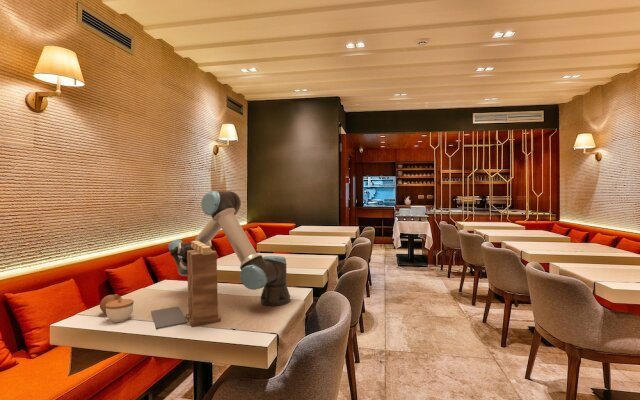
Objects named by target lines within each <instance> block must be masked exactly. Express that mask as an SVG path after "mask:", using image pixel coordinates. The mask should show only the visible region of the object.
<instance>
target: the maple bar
mask: <svg viewBox="0 0 640 400" xmlns="http://www.w3.org/2000/svg"><path fill="white" fill-rule="evenodd" d="M190 242H191V248H193V249H195V250H196V251H198V252H199V253H201V254H202V255H209V254H211V247H209V246H207V245H205V244H203V243H201V242H200V241H198V240H197V241H194V240H191V241H190Z"/></svg>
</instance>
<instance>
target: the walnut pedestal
mask: <svg viewBox="0 0 640 400" xmlns="http://www.w3.org/2000/svg"><path fill="white" fill-rule="evenodd" d="M217 253H218V252H217V251H216V250H215V249H214V250H212V249H211V254H209V255H202V254H201V253H199V252H198V251H196V250H189V251H187V270H188V276H187V303H188V304H187V305H188V313H186V314H185V318H186V320H187V322H188V324H190V326H191V327H192V328H195V327H200V326H204V325H209V324H214V323H218V322H221V321H222V318H221V317H220V315H219V307H218V304H219V303H218V302H219V301H218V298H219V297H218V254H217Z"/></svg>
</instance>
